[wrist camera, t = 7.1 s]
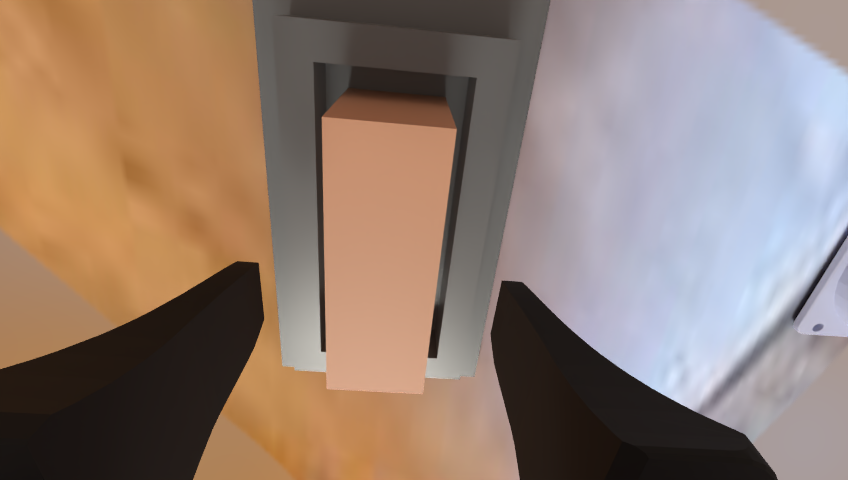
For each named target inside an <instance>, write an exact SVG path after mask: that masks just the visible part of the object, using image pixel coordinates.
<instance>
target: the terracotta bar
mask: <svg viewBox="0 0 848 480" xmlns="http://www.w3.org/2000/svg"><path fill="white" fill-rule="evenodd" d="M456 132H457V128H456V125H455V122H454V120H453V117H452V114H451V111H450V108H449V106H448V103H447V100H446V97H439V96H428V95H418V94H407V93H397V92H386V91H375V90H365V89H354V88H348V89H347V90H346V91H345V92H344V93H343V94H342V95H341V96H340V98H339V99H338V100H337V101H336V102H335V103H334V104H333V105H332V106H331V107H330V108H329V110H328V111H327V112H326V113H325V114H324V115H323V116H322V159H323V213H324V268H325V322H326V376H327V389H336V390H354V391H373V392H392V393H411V394H423V389H424V381H425V374H426V366H427V358H428V350H429V342H430V335H431V327H432V319H433V311H434V303H435V296H436V288H437V280H438V272H439V264H440V257H441V249H442V241H443V233H444V226H445V218H446V210H447V202H448V194H449V187H450V179H451V171H452V163H453V155H454V148H455V140H456Z"/></svg>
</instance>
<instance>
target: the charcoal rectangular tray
mask: <svg viewBox="0 0 848 480" xmlns="http://www.w3.org/2000/svg"><path fill="white" fill-rule="evenodd" d="M549 4H550V0H253V13H254V25H255V37H256V49H257V61H258V73H259V85H260V98H261V110H262V122H263V134H264V146H265V158H266V170H267V183H268V195H269V207H270V219H271V231H272V243H273V255H274V268H275V280H276V292H277V304H278V316H279V328H280V340H281V353H282V365H283V366H290V367H295V370H300V371H318V372H326V322H325V268H324V213H323V159H322V116H323V115H324V114H325V113H326V112H327V111H328V110H329V108H330V107H331V106H332V105H333V104H334V103H335V102H336V101H337V100H338V99H339V98H340V96H341V95H342V94H343V93H344V92H345V91H346V90H347V89H348V88H354V89H365V90H375V91H386V92H397V93H407V94H418V95H428V96H439V97H446V100H447V103H448V106H449V108H450V111H451V114H452V117H453V120H454V122H455V125H456V128H457V132H456V140H455V148H454V155H453V163H452V171H451V179H450V187H449V194H448V202H447V210H446V218H445V226H444V233H443V241H442V249H441V257H440V264H439V272H438V280H437V288H436V296H435V303H434V311H433V319H432V327H431V335H430V342H429V350H428V358H427V366H426V374H425V378H443V379H460V376H468V377H474V376H475V371H476V366H477V361H478V356H479V351H480V346H481V341H482V336H483V332H484V327H485V322H486V317H487V312H488V307H489V302H490V297H491V292H492V287H493V282H494V277H495V272H496V267H497V262H498V257H499V252H500V247H501V242H502V237H503V232H504V227H505V222H506V217H507V213H508V208H509V203H510V198H511V193H512V188H513V183H514V178H515V173H516V168H517V163H518V158H519V153H520V148H521V143H522V138H523V133H524V128H525V123H526V118H527V113H528V108H529V103H530V98H531V94H532V89H533V84H534V79H535V74H536V69H537V64H538V59H539V54H540V49H541V44H542V39H543V34H544V29H545V24H546V19H547V14H548V9H549Z"/></svg>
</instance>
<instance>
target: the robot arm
mask: <svg viewBox="0 0 848 480" xmlns="http://www.w3.org/2000/svg"><path fill="white" fill-rule="evenodd" d="M263 321H264V312H263V302H262V292H261V282H260V273H259V263H254V262H240V261H237V262H235V263H233V264H231V265H229V266H228V267H226V268H224V269H223V270H221V271H219V272H218V273H216V274H214V275H213V276H211V277H210V278H208V279H206V280H205V281H203V282H201V283H200V284H198V285H196V286H195V287H193V288H191V289H190V290H188V291H186V292H185V293H183V294H181V295H180V296H178V297H176V298H174V299H172V300H171V301H169V302H167V303H165V304H163V305H161V306H160V307H158V308H156V309H154V310H152V311H151V312H149V313H147V314H145V315H143V316H141V317H139V318H137V319H135V320H133V321H130V322H128V323H126V324H124V325H122V326H119V327H117V328H115V329H113V330H111V331H109V332H106V333H104V334H101V335H99V336H96V337H93V338H91V339H88V340H86V341H84V342H80V343H78V344H75V345H73V346H70V347H67V348H65V349H62V350H59V351H57V352H54V353H51V354H48V355H45V356H42V357H39V358H36V359H33V360H30V361H26V362H23V363H20V364H16V365H13V366H10V367H7V368H3V369H0V480H193V478H194V475H195V473H196V470H197V467H198V465H199V462H200V459H201V457H202V454H203V452H204V449H205V447H206V444H207V442H208V439H209V437H210V434H211V432H212V429H213V427H214V425H215V423H216V421H217V419H218V416H219V414H220V413H221V411H222V409H223V407H224V405H225V403H226V401H227V399H228V397H229V395H230V394H231V392H232V390H233V388H234V386H235V384H236V382H237V380H238V378H239V376H240V375H241V373H242V371H243V369H244V367H245V365H246V363H247V361H248V359H249V357H250V355H251V353H252V351H253V349H254V347H255V344H256V341H257V339H258V336H259V333H260V330H261V327H262V324H263ZM793 328H794V329H795V330H797V331H798V332H799V333H801V334H810V335H825V336H841V337H848V236H847V238H846V240H845V241H844V243H843V244H842V246H841V248H840V249H839V251H838V252H837V254H836V256H835V257H834V259H833V260H832V262H831V264H830V265H829V267H828V268H827V270H826V272H825V273H824V275H823V276H822V278H821V280H820V281H819V283H818V284H817V286H816V288H815V289H814V291H813V292H812V294H811V296H810V297H809V299H808V300H807V302H806V304H805V305H804V307H803V308H802V310H801V311H800V313H799V315H798V316H797V318H796V319H795V321H794V323H793ZM491 342H492V351H493V358H494V365H495V369H496V373H497V377H498V381H499V385H500V388H501V392H502V396H503V400H504V404H505V407H506V411H507V415H508V419H509V423H510V426H511V430H512V435H513V440H514V444H515V450H516V457H517V463H518V470H519V476H520V480H778V479H777V477H776V474H775V472H774V471H773V470H772V469H771V467H770V466H769V465H768V463H767V462H766V461H765V460H764V459H763V457H762V456H761V455H760V453H759V452H758V451H757V449H756V448H755V447H754V445H753V444H752V443H751V442H750V440H749V439H748V438H747V437H746V435H745V434H743V433H740V432H738V431H736V430H734V429H732V428H729V427H727V426H725V425H723V424H721V423H718V422H716V421H714V420H712V419H709V418H707V417H705V416H703V415H701V414H699V413H696V412H694V411H692V410H691V409H689V408H687V407H685V406H683V405H681V404H679V403H677V402H675V401H673V400H671V399H670V398H668V397H666V396H664V395H662V394H661V393H659V392H657V391H655V390H654V389H652V388H650V387H649V386H647V385H645V384H644V383H642V382H641V381H639V380H637V379H636V378H634V377H632V376H631V375H629V374H628V373H626V372H625V371H623V370H622V369H620V368H619V367H617V366H616V365H615V364H613V363H612V362H610V361H609V360H608V359H606V358H605V357H604V356H602V355H601V354H600V353H598V352H597V351H596V350H594V349H593V348H592V347H591V346H589V345H588V344H587V343H586V342H585V341H583V340H582V339H581V338H580V337H579V336H578V335H576V334H575V333H574V332H573V331H572V330H571V329H570V328H568V327H567V326H566V325H565V324H564V323H563V322H562V321H561V320H560V319H559V318H558V317H557V316H556V315H555V314H554V313H553V312H552V311H551V310H550V309H549V308H548V307H547V306H546V305H545V304H544V303H543V302H542V301H541V300H540V299H539V298H538V297H537V296H536V295H535V294H534V293H533V292H532V291H531V290H530V289H529V288H528V287H527V286H526V285H525V284H524V283H522V282H514V281H502V283H501V288H500V292H499V297H498V302H497V306H496V311H495V316H494V321H493V325H492V330H491Z"/></svg>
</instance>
